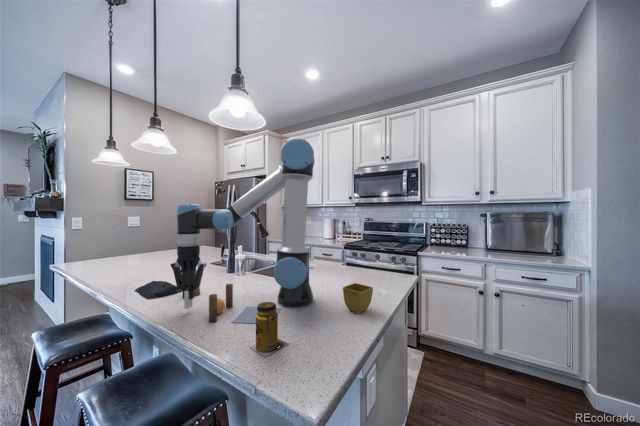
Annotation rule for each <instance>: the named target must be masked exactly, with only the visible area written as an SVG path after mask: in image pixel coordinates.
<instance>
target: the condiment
mask: <svg viewBox="0 0 640 426" xmlns="http://www.w3.org/2000/svg"><path fill="white" fill-rule="evenodd" d="M256 307H257V315H256V324H255V344H253V345H251V346H249V348H250V349H252V350H253V351H255V352H256V353H258V354H260V355H261V356H263V357H265V358H267V357H268V356H270V355H272V354H273V353H275V352H277V351H279V350H280V349H282V348H285V347H286V346H287V345H289V344H290V343H289V342H286V341H284V340H283V339H280V338H278V329H279V327H278V322H279V321H278V320H279V319H278V318H279V317H278V316H279V314H278V315H277V313H276V308H277V304H276V302H275V303H274V302H272V301H265V302H261V303H259V304H258V305H257V306H256ZM279 346H280V347H279ZM277 347H279V348H277Z"/></svg>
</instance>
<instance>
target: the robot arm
mask: <svg viewBox="0 0 640 426" xmlns="http://www.w3.org/2000/svg"><path fill="white" fill-rule="evenodd" d="M279 153H280V155H279V156H280V160H281V164H280V165H278V169H277V170H275V171H273V173H271V174H270V175H269V176H268V177H266V178H265V179H263V180H262V181H261V182H259V183H258V184H256V186H254V187H253V188H251V189H250V190H249V191H248V192H246V193H245V194H244V195H242V196H241V197H240V198H238V199H237V200H236V201H234V202H233V203H232V204H230V205H229V206H228V207H226V208H225V209H224V208H222V209H221V208H219V209H217V208H216V209H215V208H213V209H202V208H201V205H200V204H198V203H196V204H195V203H180V204H179V205H178V206H177V215H176V218H177V235H176V236H177V237H176V244H177V246H176V254H177V255H176V256H177V258H176V261H175V262H173V263H171V264H170V267H171V268H172V270H173V275H174V279H175V286H177V288H178V289H181V290H182V291H183V292H182V299H183V300H184V302H183V303H184V307H183V308H184V309H186V310H189V309H191V308H192V307H193V303H194V302H193V301H194V300H193V299H194V298H195V297H194V290H195V289H197V288H200V286H201V284H202V282H201V281H202V278H203V273H204V269H205V268H206V266H207V263H206V262H202V261H201V258H200V254H201V252H200V251H201V245H199V244H200V243H201V242H200V241H201V240H200V239H201V237H200V236H201V235H200V233H201V230H219V231H220V230H229V229H231V228H233V227H237V225H238V224H239V223H240V221H242V220H243V219H244V218H246V216H248V215H249V214H251V213H252V212H253V211H255V210H256V209H258V208H259V207H260V206H261V205H263V204H264V203H266V202H267V201H268V200H269V199H271V198H272V197H274V196H275V195H276V194H278V193H279V192H281V190H283V189H284V193H283V195H284V196H283V213H282V214H283V215H282V216H283V217H282V230H281V231H282V232H281V244H280V246H278V248H276V262H275V265H274V268H273V278H274V280H275V281H276V284H278V285H279V286H280V288H279V291H278V295H277V303H278V304H279V305H280V306H283V307H289V308H300V307H304V306H308V305H310V304H312V303H313V302H312V301H314V294H313V293H314V292H313V291H312V287H311V284H310V249H309V248H308V247H306V244H305V243H306V224H307V212H308V211H307V208H308V205H307V204H308V191H309V182H310V181H312V179H313V177H314V175H313V172H314V165H315V157H314V156H315V154H314V153H315V152H314V148H313V147H312V145H311V144H310V143H309V142H308V141H307V140H306V139H304V138H301V137H300V138H299V137H293V138H290V139H288V140H287V141H285V142H284V143H283V144H282V146H281V149H280V152H279ZM196 270H197V273H196V277H195V271H196Z"/></svg>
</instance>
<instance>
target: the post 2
mask: <svg viewBox="0 0 640 426" xmlns="http://www.w3.org/2000/svg"><path fill="white" fill-rule="evenodd" d="M233 287H234V284H233V283H227V284H225V309H232V308H233V306H234V305H233V303H234V302H233V300H234V298H233V296H234V293H233V292H234V291H233V289H234V288H233Z"/></svg>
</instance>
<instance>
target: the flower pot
mask: <svg viewBox="0 0 640 426" xmlns="http://www.w3.org/2000/svg"><path fill="white" fill-rule="evenodd" d="M373 289H374V287H372V286H369V285H364V284H361V283H359V282H358V283H357V282H354V283H351V284H348V285H345V286H343V287H342V293H343V301H344V303H345V306H346V307H347V309H348V310H349V311H351V310H352V311H351V312H354V311H355V312H354V313H356V312H358V313H357V314H361V313H363V312H365V311H367V310H368V308H369V306H370V305H371V302H372V297H373V291H374V290H373ZM364 310H365V311H364ZM362 311H363V312H362ZM360 312H361V313H360Z"/></svg>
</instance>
